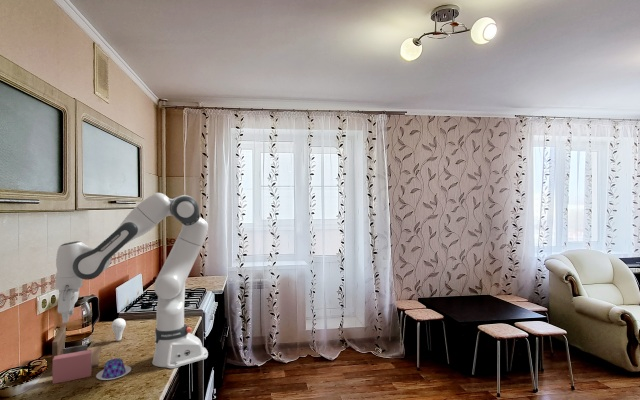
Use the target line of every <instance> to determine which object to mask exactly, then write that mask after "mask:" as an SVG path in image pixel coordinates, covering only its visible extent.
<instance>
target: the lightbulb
mask: <svg viewBox="0 0 640 400" xmlns="http://www.w3.org/2000/svg"><path fill="white" fill-rule="evenodd" d="M126 325H127V323H126V320H125V319H124V318H121V317H120V318H119V317H118V318H116V319H114V320H113V321H112V323H111V329H112V330H113V331H114V332H113V333H114V336H115V341H117V342H119V341H121V340H122V338H123V337H122V336H123V332H124V329H125V328H126Z"/></svg>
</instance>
